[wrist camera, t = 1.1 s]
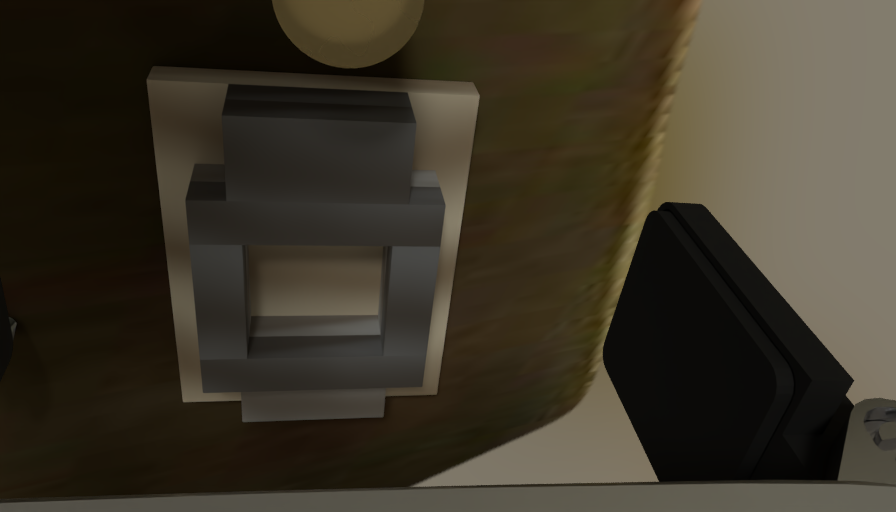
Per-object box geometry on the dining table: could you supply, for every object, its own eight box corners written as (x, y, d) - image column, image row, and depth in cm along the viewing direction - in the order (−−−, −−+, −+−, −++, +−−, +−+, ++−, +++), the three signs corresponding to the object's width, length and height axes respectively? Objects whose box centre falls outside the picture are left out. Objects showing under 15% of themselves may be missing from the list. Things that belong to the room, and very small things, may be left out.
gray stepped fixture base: (153, 65, 30) (131, 112, 26) (472, 82, 32) (494, 126, 29) (186, 381, 39) (174, 447, 35) (433, 375, 42) (445, 436, 38)
